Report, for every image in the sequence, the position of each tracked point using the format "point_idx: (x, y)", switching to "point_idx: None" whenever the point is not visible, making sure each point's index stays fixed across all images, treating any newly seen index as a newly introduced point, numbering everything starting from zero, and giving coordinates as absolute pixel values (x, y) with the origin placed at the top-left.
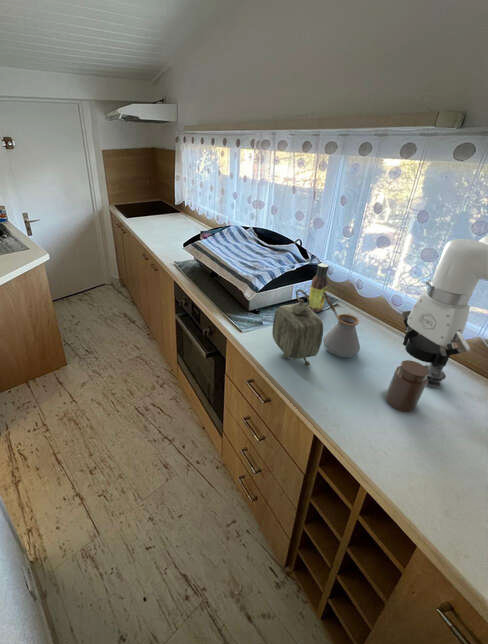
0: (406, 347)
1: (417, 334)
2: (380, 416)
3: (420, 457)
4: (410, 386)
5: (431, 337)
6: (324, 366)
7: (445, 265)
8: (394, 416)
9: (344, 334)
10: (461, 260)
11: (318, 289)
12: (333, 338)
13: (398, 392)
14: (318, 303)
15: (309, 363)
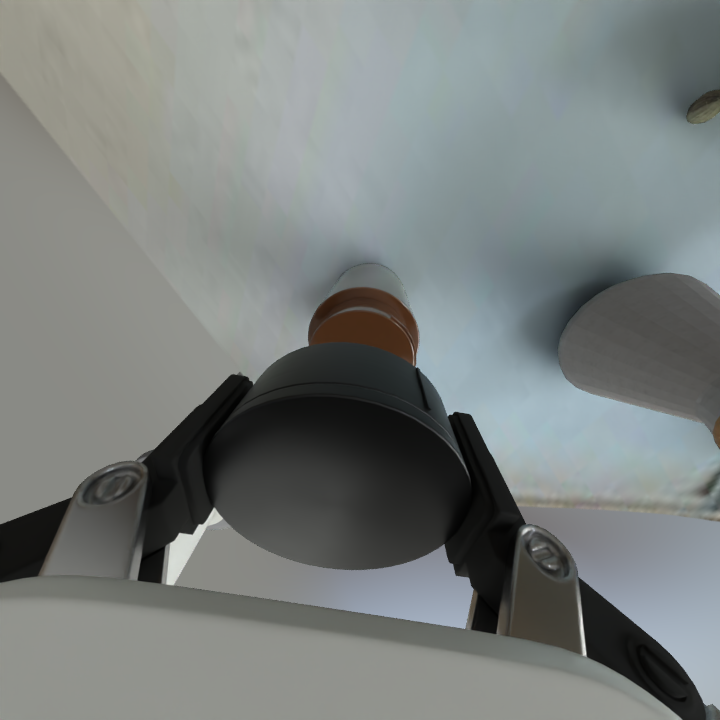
0: (426, 385)
1: (447, 543)
2: (355, 188)
3: (212, 162)
4: (332, 293)
5: (73, 710)
6: (615, 200)
7: None
8: (338, 234)
9: (702, 341)
10: None
11: None
12: (711, 303)
13: (361, 274)
14: None
15: (701, 111)
